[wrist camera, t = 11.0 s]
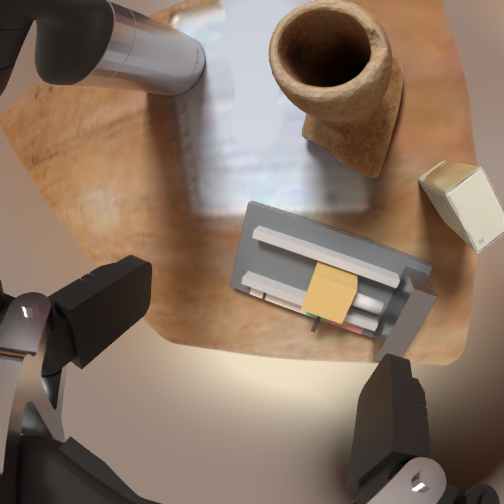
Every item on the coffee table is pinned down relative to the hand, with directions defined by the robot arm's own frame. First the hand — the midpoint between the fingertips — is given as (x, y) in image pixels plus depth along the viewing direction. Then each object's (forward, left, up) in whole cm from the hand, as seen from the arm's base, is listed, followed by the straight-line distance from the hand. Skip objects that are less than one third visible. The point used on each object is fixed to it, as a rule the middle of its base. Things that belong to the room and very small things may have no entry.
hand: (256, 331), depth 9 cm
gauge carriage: (+6, -12, -26) cm, 29 cm away
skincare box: (+13, +5, -28) cm, 32 cm away
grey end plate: (+13, -10, -27) cm, 31 cm away
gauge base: (+3, -10, -28) cm, 30 cm away
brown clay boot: (-1, +11, -28) cm, 30 cm away
